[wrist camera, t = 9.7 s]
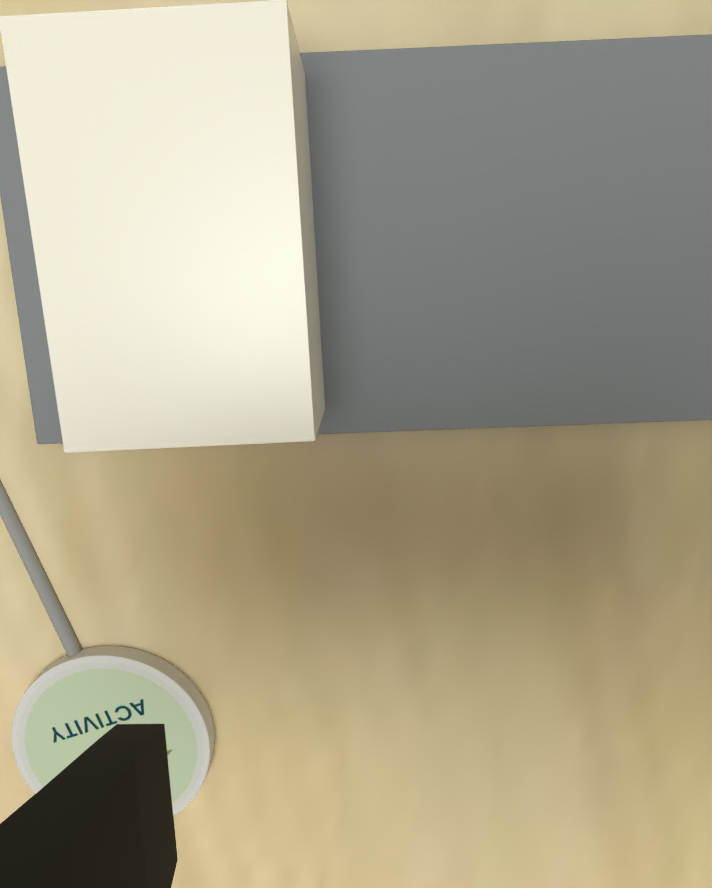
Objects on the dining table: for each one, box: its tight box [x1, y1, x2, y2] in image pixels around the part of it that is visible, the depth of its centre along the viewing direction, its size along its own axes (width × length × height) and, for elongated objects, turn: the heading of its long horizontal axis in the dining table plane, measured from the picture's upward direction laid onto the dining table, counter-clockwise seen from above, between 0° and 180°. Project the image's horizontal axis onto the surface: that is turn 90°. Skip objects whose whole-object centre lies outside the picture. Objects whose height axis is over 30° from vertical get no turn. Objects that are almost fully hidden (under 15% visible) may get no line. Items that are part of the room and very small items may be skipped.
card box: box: [0, 0, 325, 453], centre depth 13 cm, size 7×4×4 cm, turn 3°
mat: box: [0, 35, 712, 444], centre depth 15 cm, size 18×8×1 cm, turn 92°
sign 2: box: [0, 480, 215, 816], centre depth 17 cm, size 5×1×15 cm
